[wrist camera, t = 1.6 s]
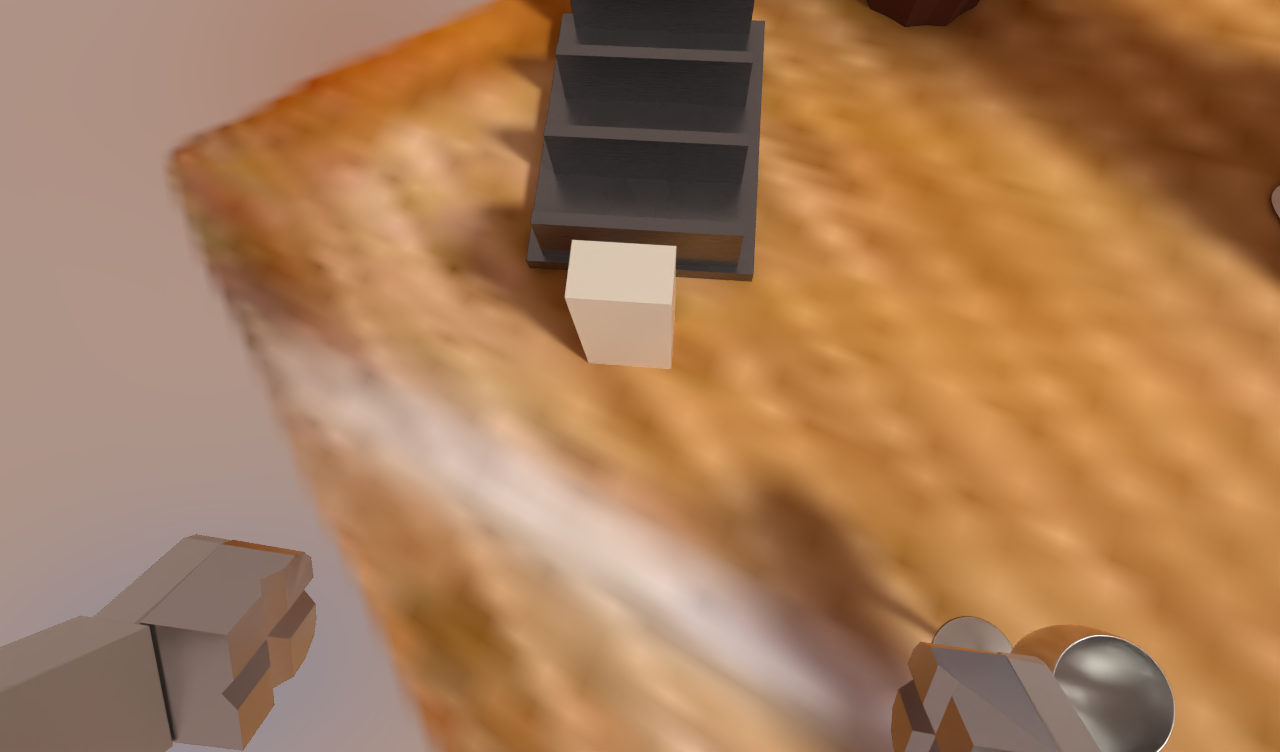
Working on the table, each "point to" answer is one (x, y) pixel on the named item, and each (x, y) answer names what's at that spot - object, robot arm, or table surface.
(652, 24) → the dish rack
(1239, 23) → the table surface
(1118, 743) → the goblet set
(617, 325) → the tall cream block
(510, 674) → the table surface
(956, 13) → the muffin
